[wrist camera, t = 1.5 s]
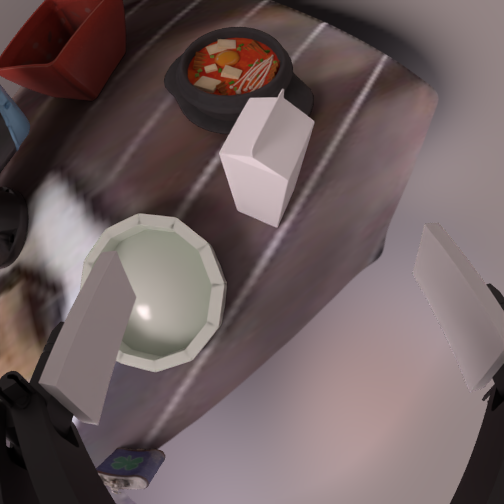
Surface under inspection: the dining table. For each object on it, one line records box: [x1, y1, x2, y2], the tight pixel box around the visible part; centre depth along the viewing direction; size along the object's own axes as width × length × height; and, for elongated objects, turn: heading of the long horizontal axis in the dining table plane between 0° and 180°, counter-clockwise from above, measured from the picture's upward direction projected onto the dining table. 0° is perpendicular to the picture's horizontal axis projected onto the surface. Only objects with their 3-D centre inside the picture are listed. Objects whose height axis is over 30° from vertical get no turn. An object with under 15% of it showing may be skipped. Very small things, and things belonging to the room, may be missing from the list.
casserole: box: [164, 27, 314, 134], centre depth 40 cm, size 25×19×8 cm
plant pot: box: [0, 0, 126, 101], centre depth 38 cm, size 19×19×17 cm
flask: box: [96, 448, 165, 494], centre depth 33 cm, size 9×3×11 cm, turn 100°
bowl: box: [80, 213, 227, 372], centre depth 39 cm, size 20×20×4 cm
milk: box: [219, 89, 314, 228], centre depth 31 cm, size 6×6×22 cm
